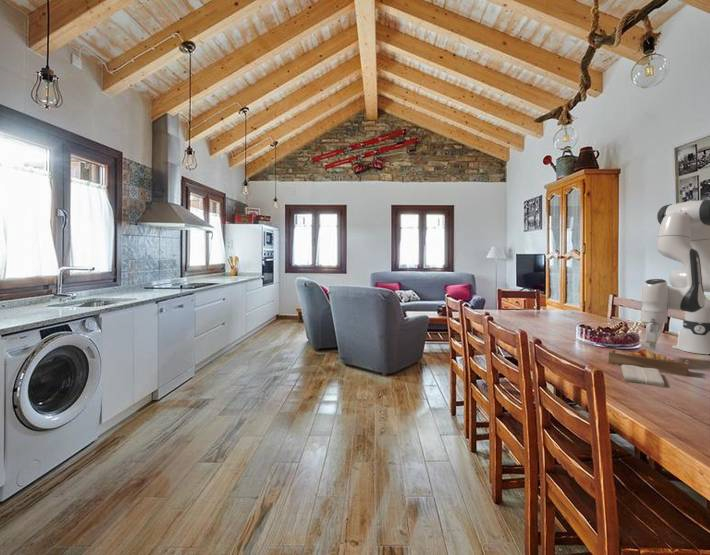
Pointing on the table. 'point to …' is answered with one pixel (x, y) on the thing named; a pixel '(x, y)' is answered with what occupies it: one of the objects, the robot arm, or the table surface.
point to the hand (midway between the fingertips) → (652, 349)
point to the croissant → (650, 355)
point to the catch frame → (649, 363)
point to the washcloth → (642, 375)
